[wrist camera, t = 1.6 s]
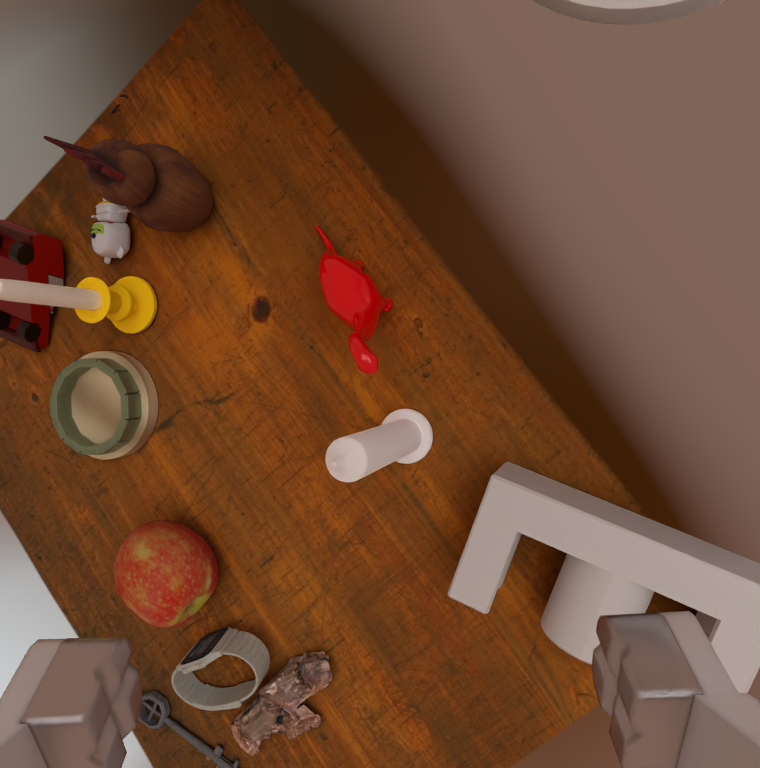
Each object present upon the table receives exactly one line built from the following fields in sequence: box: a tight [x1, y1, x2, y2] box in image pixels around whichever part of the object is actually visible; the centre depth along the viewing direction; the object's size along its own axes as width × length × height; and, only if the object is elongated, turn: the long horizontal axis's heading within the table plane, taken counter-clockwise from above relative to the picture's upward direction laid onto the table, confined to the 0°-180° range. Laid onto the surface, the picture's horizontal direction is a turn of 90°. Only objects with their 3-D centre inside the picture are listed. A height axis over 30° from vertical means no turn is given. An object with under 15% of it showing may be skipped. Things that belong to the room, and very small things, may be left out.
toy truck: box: [0, 220, 64, 352], centre depth 62 cm, size 6×12×5 cm, turn 160°
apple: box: [114, 520, 219, 628], centre depth 56 cm, size 8×8×8 cm
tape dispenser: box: [448, 461, 760, 693], centre depth 46 cm, size 19×9×6 cm, turn 70°
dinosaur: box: [316, 225, 392, 374], centre depth 48 cm, size 4×15×12 cm, turn 37°
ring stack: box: [50, 351, 158, 460], centre depth 61 cm, size 10×10×3 cm
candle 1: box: [0, 276, 157, 334], centre depth 53 cm, size 5×5×16 cm
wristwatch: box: [171, 627, 270, 711], centre depth 56 cm, size 9×6×5 cm
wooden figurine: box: [44, 136, 213, 232], centre depth 52 cm, size 7×6×15 cm
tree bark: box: [231, 651, 332, 756], centre depth 56 cm, size 6×12×2 cm, turn 136°
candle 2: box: [325, 409, 433, 482], centre depth 46 cm, size 4×4×16 cm
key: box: [139, 691, 240, 768], centre depth 60 cm, size 12×1×3 cm
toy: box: [91, 94, 130, 264], centre depth 59 cm, size 7×3×15 cm
